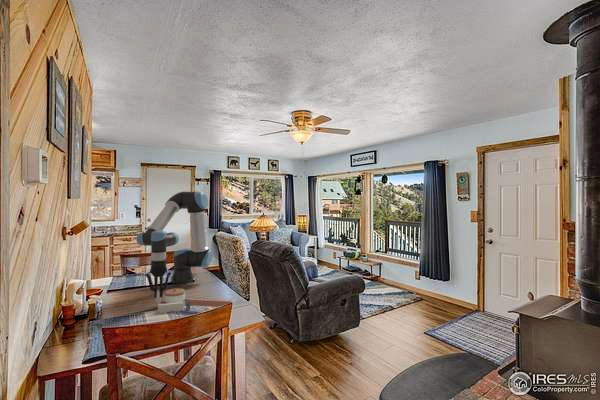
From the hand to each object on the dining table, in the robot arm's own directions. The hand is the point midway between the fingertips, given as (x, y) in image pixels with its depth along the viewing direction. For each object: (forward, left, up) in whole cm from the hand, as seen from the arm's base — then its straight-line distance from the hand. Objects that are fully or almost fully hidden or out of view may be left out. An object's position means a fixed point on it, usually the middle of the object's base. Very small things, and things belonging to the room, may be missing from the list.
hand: (158, 303), depth 164 cm
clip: (+14, +26, +1) cm, 29 cm away
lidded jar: (0, +8, -2) cm, 8 cm away
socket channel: (0, +8, -2) cm, 8 cm away
